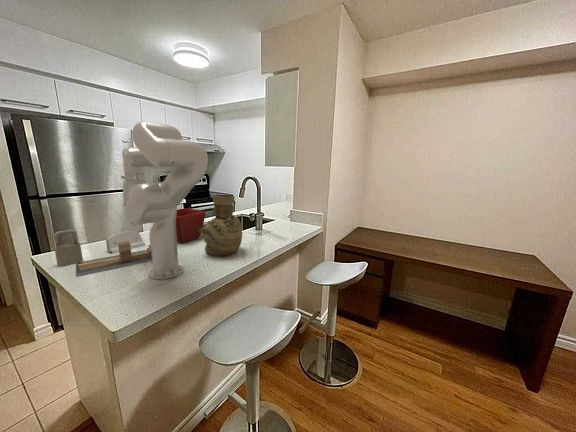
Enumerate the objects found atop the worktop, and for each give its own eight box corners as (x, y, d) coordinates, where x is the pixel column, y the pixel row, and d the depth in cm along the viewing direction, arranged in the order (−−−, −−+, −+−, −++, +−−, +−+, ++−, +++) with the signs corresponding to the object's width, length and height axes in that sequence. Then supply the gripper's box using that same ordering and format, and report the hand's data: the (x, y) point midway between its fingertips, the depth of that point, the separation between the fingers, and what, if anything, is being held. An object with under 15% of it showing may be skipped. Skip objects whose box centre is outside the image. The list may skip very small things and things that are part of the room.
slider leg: (132, 260, 107) (130, 243, 106) (121, 262, 105) (119, 244, 103) (128, 254, 114) (126, 238, 112) (118, 256, 111) (116, 240, 110)
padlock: (57, 264, 105) (50, 231, 102) (80, 259, 111) (75, 227, 108) (59, 267, 102) (53, 233, 99) (83, 261, 109) (78, 229, 106)
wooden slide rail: (164, 257, 115) (164, 255, 114) (76, 276, 94) (76, 273, 94) (157, 249, 125) (157, 247, 125) (76, 265, 104) (76, 262, 104)
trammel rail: (161, 254, 115) (160, 248, 114) (79, 271, 96) (78, 263, 95) (156, 249, 122) (156, 243, 121) (79, 264, 102) (77, 257, 101)
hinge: (112, 254, 118) (106, 234, 117) (108, 255, 120) (102, 236, 120) (146, 245, 132) (140, 227, 132) (141, 246, 134) (136, 229, 134)
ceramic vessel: (198, 249, 126) (194, 193, 120) (237, 245, 135) (236, 192, 129) (202, 263, 110) (198, 198, 104) (246, 256, 119) (246, 196, 113)
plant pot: (179, 246, 131) (177, 216, 128) (159, 240, 141) (156, 212, 137) (207, 238, 147) (206, 211, 144) (187, 233, 157) (186, 207, 153)
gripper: (115, 178, 97) (120, 222, 101) (156, 178, 107) (159, 218, 111) (113, 177, 103) (118, 219, 107) (152, 177, 112) (155, 215, 116)
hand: (139, 218), depth 109 cm, fingers closed
